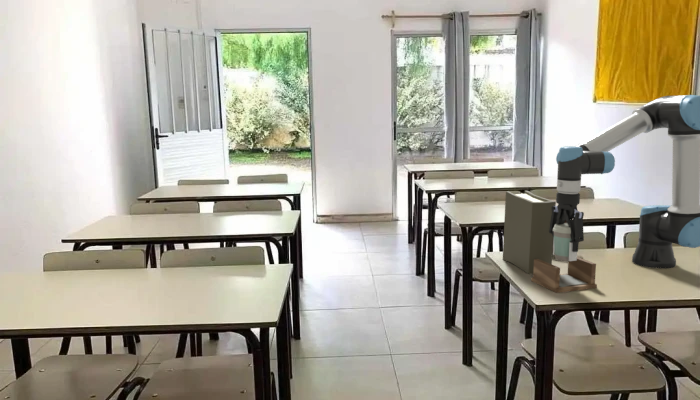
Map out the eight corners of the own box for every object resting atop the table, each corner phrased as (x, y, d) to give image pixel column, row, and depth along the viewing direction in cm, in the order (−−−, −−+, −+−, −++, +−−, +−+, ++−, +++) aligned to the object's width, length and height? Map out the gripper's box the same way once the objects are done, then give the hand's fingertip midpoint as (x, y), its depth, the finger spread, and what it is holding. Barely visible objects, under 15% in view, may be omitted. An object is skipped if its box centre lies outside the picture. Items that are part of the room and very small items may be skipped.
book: (552, 274, 215) (557, 200, 210) (529, 275, 213) (533, 201, 208) (523, 258, 236) (527, 190, 230) (502, 259, 234) (505, 191, 228)
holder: (569, 276, 210) (570, 254, 208) (596, 287, 197) (598, 264, 195) (531, 281, 205) (532, 258, 203) (556, 292, 192) (558, 269, 190)
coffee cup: (579, 263, 194) (581, 228, 192) (552, 262, 196) (554, 227, 194) (575, 256, 202) (577, 223, 201) (549, 255, 204) (551, 222, 202)
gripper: (540, 188, 204) (536, 251, 208) (579, 197, 185) (575, 266, 188) (557, 187, 206) (554, 249, 210) (598, 196, 187) (594, 264, 191)
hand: (564, 257), depth 199 cm, fingers closed on coffee cup, 8 cm apart
